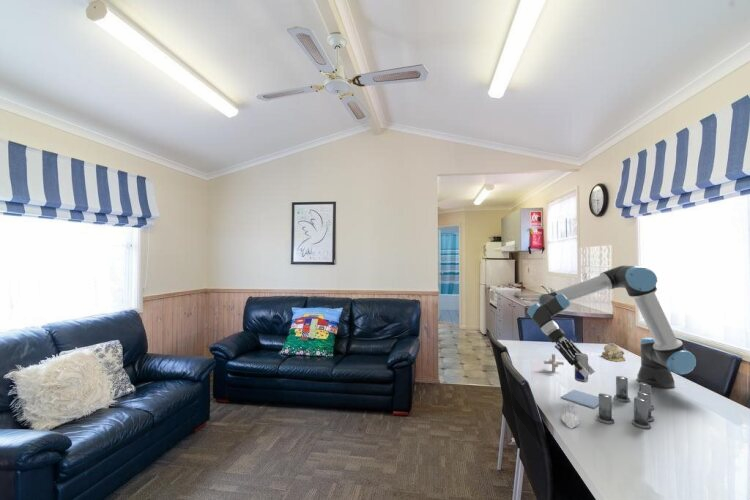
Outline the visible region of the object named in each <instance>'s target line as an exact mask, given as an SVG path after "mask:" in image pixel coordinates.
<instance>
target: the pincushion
mask: <svg viewBox="0 0 750 500" xmlns="http://www.w3.org/2000/svg"><path fill="white" fill-rule="evenodd" d="M562 409H563V410H562V411H563V412H562V413H561V416H560V417H561V420H562V422H563V423H564V424H565V425H566V426H567V427H568V428H570V429H574V428H576V427H577V426H578V425H579V422H580V420H579V417H578V416H577V415H576V412H573V413H571V412H570V411H568V412H566V409H565V407H563V408H562Z"/></svg>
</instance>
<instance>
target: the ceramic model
mask: <svg viewBox="0 0 750 500" xmlns="http://www.w3.org/2000/svg"><path fill="white" fill-rule="evenodd" d="M603 350H604V351H602V352H601V356H602V357H603V358H605V359H606V360H608V361H612V362H618V363H619V362H626V357H625V356H624V355H625V352H624V350H622V348H621V347H620V346H619V345H616V344H615V343H614V342H610V343H608V344H605V346H604V347H603Z"/></svg>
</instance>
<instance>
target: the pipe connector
mask: <svg viewBox="0 0 750 500" xmlns="http://www.w3.org/2000/svg"><path fill="white" fill-rule="evenodd" d="M543 363H544V365H551V372H552V373H556V368H558V367H559V365H560V366H564V365H565V363H564V361H557V360H556V354H555V353H551V358H549V360H543Z"/></svg>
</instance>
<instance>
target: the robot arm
mask: <svg viewBox="0 0 750 500" xmlns="http://www.w3.org/2000/svg"><path fill="white" fill-rule="evenodd" d="M657 283H658V276H657V274H656V273H655V272H654V271H653V270H652V269H651V268H648V267H647V266H643V265H625V264H624V265H620V266H616V267H613V268H611V269H608V270H606V271H602V272H600V274H599V275H597V276H594V277H591V278H589V279H587V280H584V281H580V282H578V283H575V284H572V285H569V286H566V287H564V288H561V289H558V290H555V291H553V292H550V293H541V294H540V295H538V298H537V303H534V304H532V305H530V307H528V309H527V310H526V313H527V314H528V316H529V317H530V318H531V320H532V321H533V322H534V323H535V324H536V326H537V327H538V328H539V329H540V330H541V331H542V333H543V334H545V336H547V338H548V340H549V341H550V342H551V343H554V344H555V345H554V348H555V349H557V351H558V352H559V353H560V354H561V355H562V357H563V358H564V359H565V360H566V361H567V363H568V364H569V365H570V366H574V368H575V367H576V368H577V369H578V370H579V371H580V373H581V374H582V375H583V376H584V377H587V376H588V377H589V376H591V375H592V374H594V373H595V372H596V370H595V369H594V368H593V367H592V366H591V365H590V362H588V371H587V370H586V369H585V368H584V367H583V365H582V364H581V363H580V362H578V361H577V360H576V358H575V353H583V352H582V351H581V350H580V349H579V348H578V347H577V345H576V344H575V343H574V341H573V340H572V339H567V338H566V337H565V335H566V332H564V330H563V329H562V328H560V326H559V325H558V323H557V322H556V321H555V320H554V319H553V317H555V316H556V315H558V314H559V313H561V312H562V311H565V310H566V309H567V308H569V307H570V306H571V302H572V301H575V300H578V299H581V298H583V297H587V296H590V295H593V294H595V293H599V292H601V291H602V292H603V291H605V290H607V291H610V290H614V289H619V288H624V289H625V290H626V293H627V295H628V296H629V297H630V298H632V299H634V301H635V303H636V305H637V307H638V311H640V314H641V316H642V318H643V321H644V323H645V324H646V327H647V329H648V331H649V333H650V336H651V337H643V338H641V339H640V367H639V370H638V372H637V375H636V377H637V378H636V380H637V381H638V382H639V383H640V382H642V383H648V384H650V385H651V387H656V388H663V389H670V388H671V389H672V388H675V386H676V385H675V384H676V382H675V380H674V377H673V374H672V373H675V374H676V375H687V374H689V373H691V372H693V370H694V368H695V367H696V364H697V359H696V356H695V355H694V354H693V353H692V352H690V351H689V350H687V349H686V347H685V345H684V343H683V342H682V340H680V339H677V337H676V335H675V333H674V331H673V329H672V327H671V324H670V323H669V320H668V318H667V316H666V314H665V311H664V309H663V307H662V306H661V303H660V301H659V299H658V297H657V295H656V292H657V290H658V288H657Z"/></svg>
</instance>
